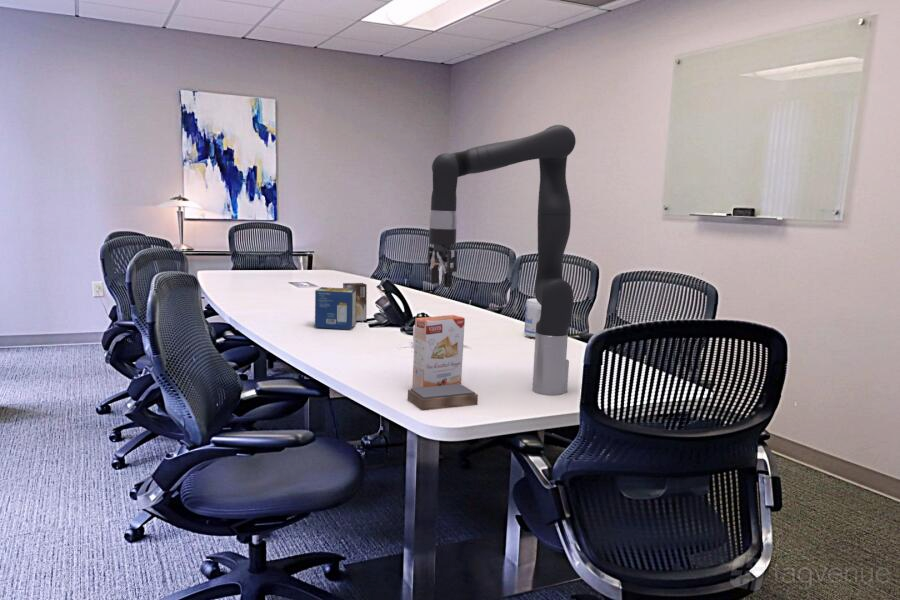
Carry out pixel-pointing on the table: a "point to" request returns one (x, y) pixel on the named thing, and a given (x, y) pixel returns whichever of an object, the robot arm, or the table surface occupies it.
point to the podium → (442, 397)
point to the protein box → (335, 308)
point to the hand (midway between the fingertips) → (441, 285)
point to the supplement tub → (532, 316)
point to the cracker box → (438, 351)
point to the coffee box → (359, 299)
